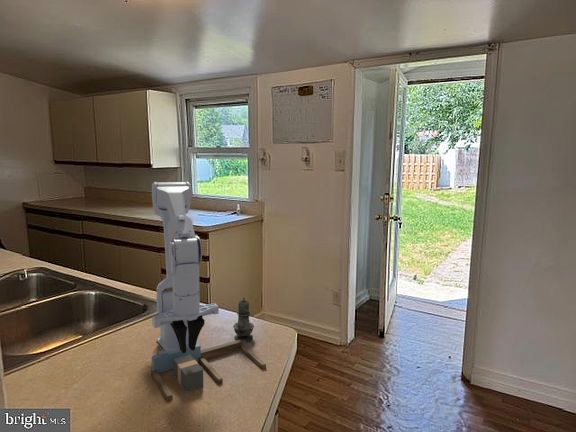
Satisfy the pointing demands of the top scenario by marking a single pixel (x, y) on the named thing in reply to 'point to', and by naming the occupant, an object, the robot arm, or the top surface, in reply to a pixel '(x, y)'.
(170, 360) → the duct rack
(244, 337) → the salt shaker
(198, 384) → the grey and tan block
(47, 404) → the top surface
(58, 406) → the top surface
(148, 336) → the top surface
